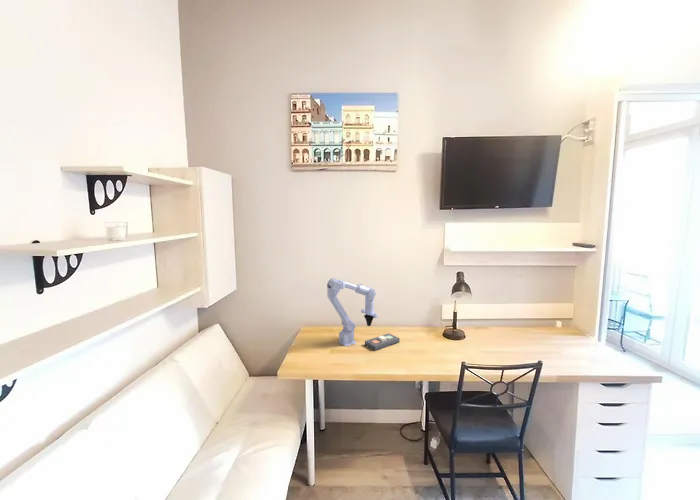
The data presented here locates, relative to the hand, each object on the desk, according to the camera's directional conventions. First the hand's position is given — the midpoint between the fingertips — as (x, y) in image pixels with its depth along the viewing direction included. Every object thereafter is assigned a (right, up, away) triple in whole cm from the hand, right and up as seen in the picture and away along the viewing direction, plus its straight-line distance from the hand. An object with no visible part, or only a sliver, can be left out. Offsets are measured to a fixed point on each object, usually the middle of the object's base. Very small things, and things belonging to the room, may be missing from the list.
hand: (369, 325), depth 219 cm
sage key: (+13, -9, -3) cm, 16 cm away
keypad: (+8, -10, -6) cm, 15 cm away
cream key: (+8, -8, -7) cm, 13 cm away
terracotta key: (+3, -10, -10) cm, 14 cm away
